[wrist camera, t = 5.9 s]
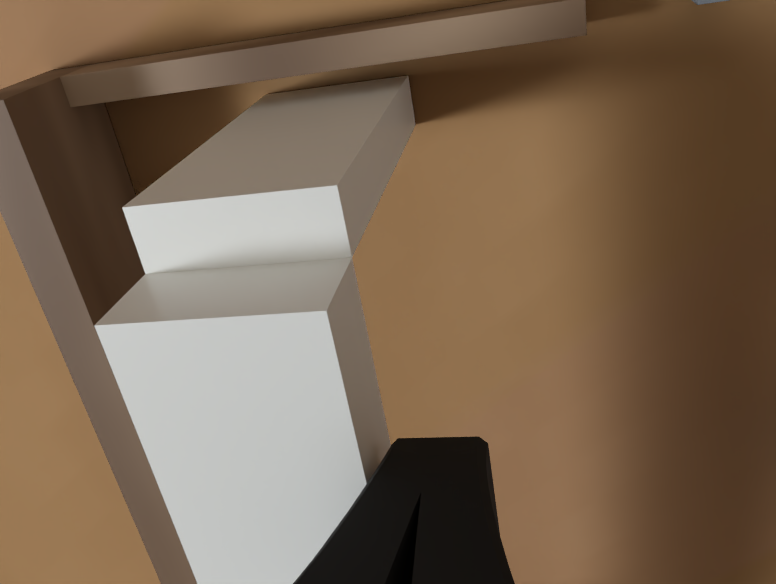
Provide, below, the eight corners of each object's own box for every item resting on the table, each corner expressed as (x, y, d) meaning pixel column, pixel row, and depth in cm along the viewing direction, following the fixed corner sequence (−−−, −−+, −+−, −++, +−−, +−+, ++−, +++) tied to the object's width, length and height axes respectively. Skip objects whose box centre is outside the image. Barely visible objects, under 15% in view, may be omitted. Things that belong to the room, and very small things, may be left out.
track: (1268, -117, 11) (1495, -118, 8) (987, 732, 20) (1053, 855, 18) (49, 70, 16) (-45, 106, 13) (276, 691, 25) (247, 783, 23)
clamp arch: (408, 75, 15) (308, 230, 8) (490, 623, 22) (473, 942, 15) (265, 94, 15) (64, 251, 9) (391, 620, 22) (333, 924, 16)
